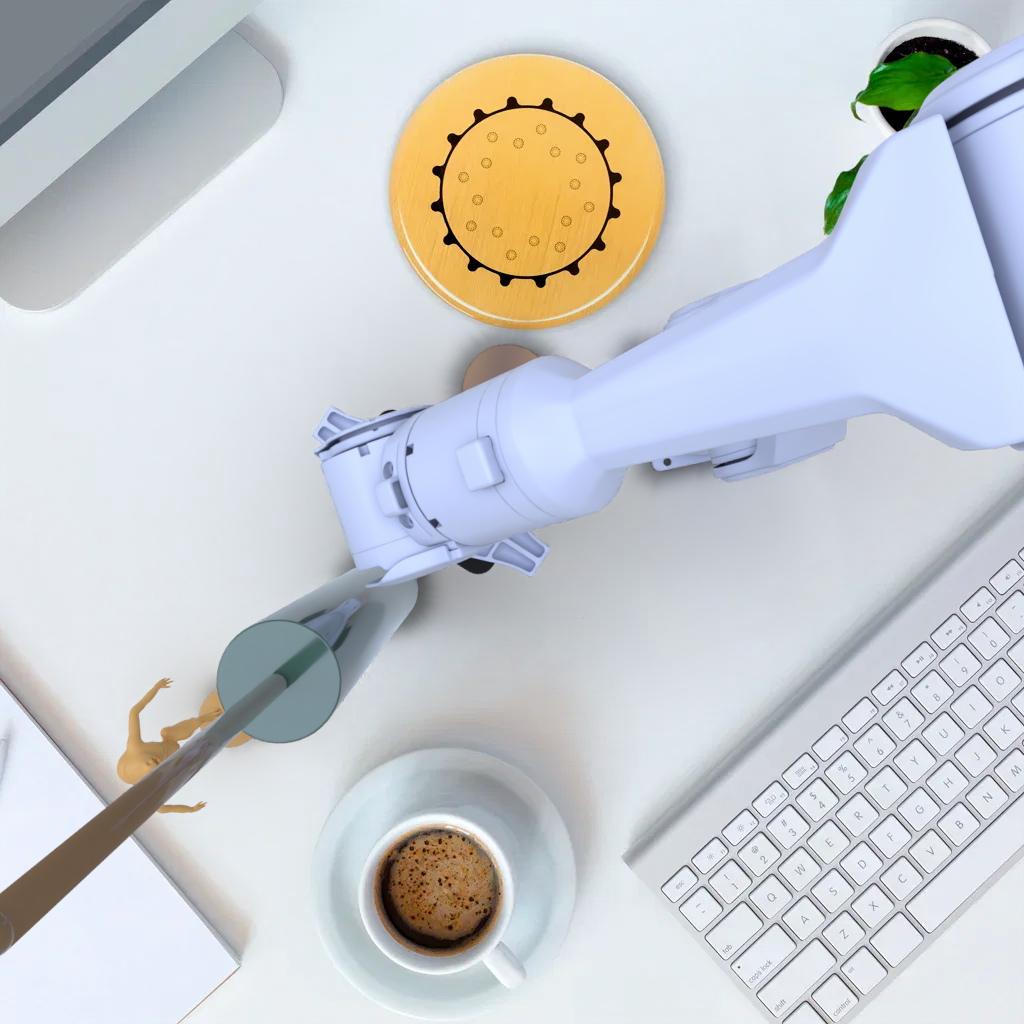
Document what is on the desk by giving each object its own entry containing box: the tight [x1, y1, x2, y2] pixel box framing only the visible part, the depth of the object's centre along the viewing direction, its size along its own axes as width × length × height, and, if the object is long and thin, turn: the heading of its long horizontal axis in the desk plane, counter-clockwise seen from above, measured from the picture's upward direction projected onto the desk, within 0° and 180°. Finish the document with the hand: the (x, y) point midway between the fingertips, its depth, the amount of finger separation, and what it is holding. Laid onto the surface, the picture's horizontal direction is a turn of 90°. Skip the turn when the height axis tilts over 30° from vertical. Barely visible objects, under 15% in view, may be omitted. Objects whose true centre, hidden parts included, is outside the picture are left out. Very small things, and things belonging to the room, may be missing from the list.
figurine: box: [116, 677, 252, 814], centre depth 59 cm, size 8×6×12 cm
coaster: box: [462, 344, 539, 392], centre depth 64 cm, size 6×6×1 cm
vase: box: [0, 566, 419, 957], centre depth 40 cm, size 5×5×50 cm
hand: (442, 490), depth 62 cm, fingers closed on pot, 5 cm apart
